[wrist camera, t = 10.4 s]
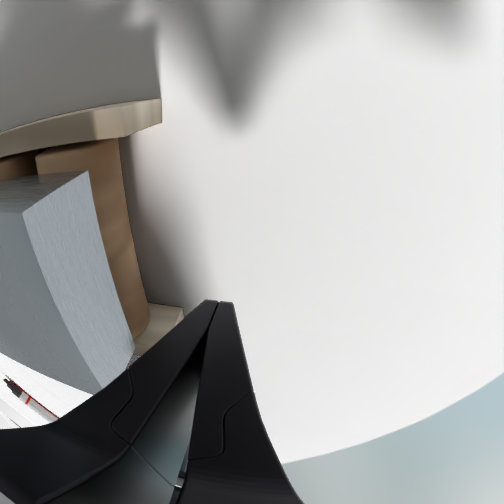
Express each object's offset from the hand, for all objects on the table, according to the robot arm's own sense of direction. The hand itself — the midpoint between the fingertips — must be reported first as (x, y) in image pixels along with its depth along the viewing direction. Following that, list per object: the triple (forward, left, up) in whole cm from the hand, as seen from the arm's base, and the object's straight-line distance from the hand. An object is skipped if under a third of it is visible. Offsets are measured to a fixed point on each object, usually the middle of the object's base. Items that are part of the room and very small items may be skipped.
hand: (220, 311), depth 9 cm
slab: (0, +10, -1) cm, 10 cm away
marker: (-35, +35, -5) cm, 50 cm away
